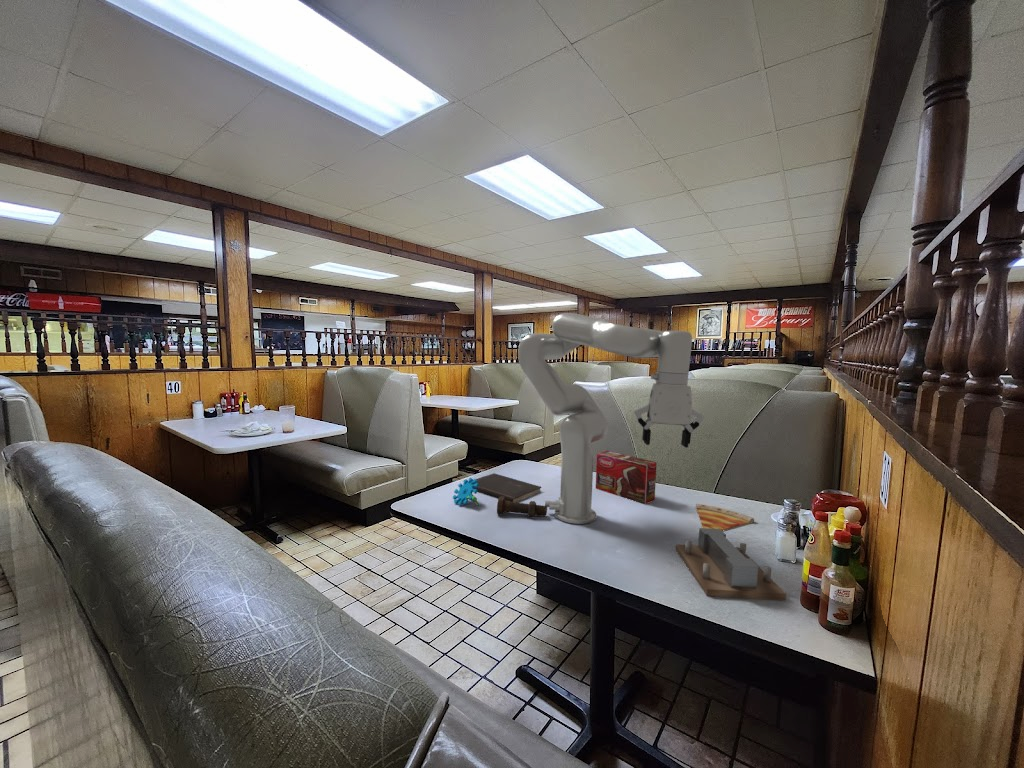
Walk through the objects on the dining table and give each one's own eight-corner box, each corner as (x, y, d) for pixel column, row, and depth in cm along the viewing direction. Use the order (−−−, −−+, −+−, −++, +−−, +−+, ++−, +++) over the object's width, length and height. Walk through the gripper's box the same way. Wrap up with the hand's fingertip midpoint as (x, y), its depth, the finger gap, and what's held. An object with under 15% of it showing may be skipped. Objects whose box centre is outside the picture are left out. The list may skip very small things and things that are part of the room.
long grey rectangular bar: (731, 587, 88) (732, 565, 88) (698, 547, 106) (699, 528, 106) (756, 589, 88) (758, 566, 88) (719, 548, 106) (720, 529, 105)
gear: (447, 494, 139) (468, 472, 141) (458, 503, 142) (478, 481, 144) (460, 510, 130) (482, 486, 132) (471, 519, 133) (493, 496, 135)
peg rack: (706, 595, 88) (708, 575, 87) (675, 549, 108) (676, 533, 107) (785, 600, 87) (787, 579, 86) (739, 553, 107) (740, 536, 106)
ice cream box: (595, 488, 153) (597, 453, 152) (605, 485, 158) (607, 450, 156) (644, 504, 139) (646, 465, 137) (654, 500, 143) (656, 462, 142)
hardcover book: (493, 478, 164) (493, 473, 163) (541, 493, 149) (541, 486, 149) (464, 488, 151) (464, 482, 151) (512, 505, 137) (512, 498, 136)
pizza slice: (661, 516, 130) (661, 510, 130) (709, 505, 140) (709, 500, 140) (704, 537, 116) (705, 530, 116) (754, 523, 126) (754, 517, 126)
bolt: (545, 524, 126) (497, 518, 128) (547, 510, 130) (500, 505, 132) (546, 511, 123) (496, 505, 125) (547, 498, 127) (499, 492, 129)
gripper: (640, 379, 103) (634, 446, 105) (712, 383, 102) (705, 451, 104) (634, 376, 110) (628, 439, 112) (701, 380, 109) (694, 443, 111)
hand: (665, 444), depth 108 cm, fingers open, 9 cm apart
